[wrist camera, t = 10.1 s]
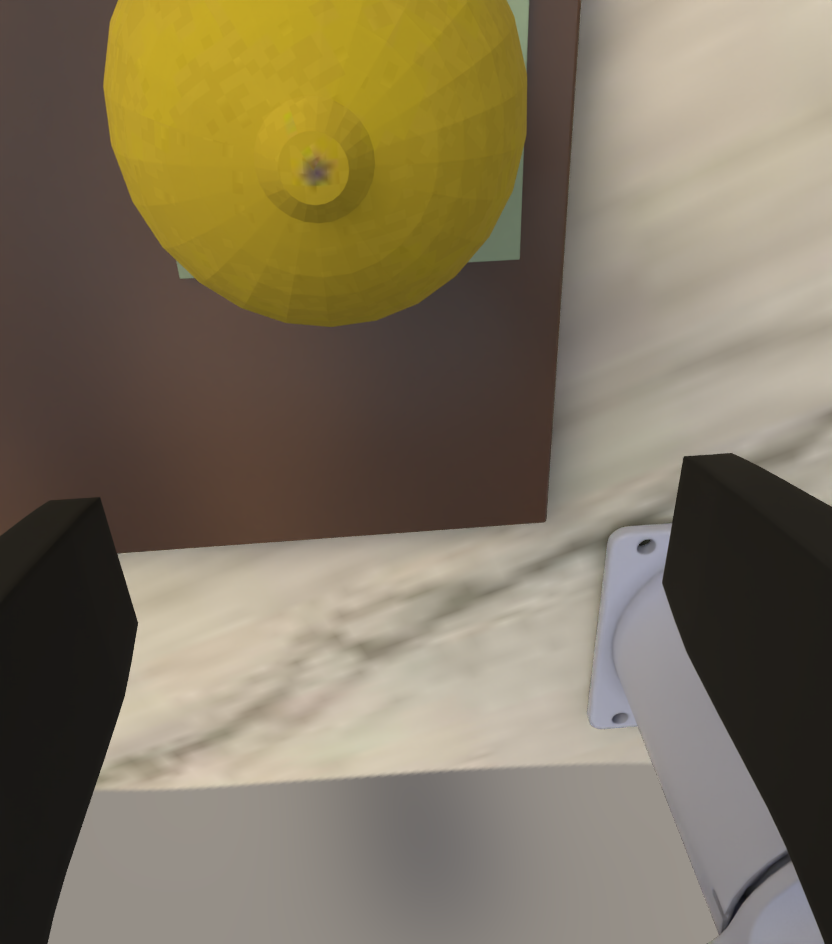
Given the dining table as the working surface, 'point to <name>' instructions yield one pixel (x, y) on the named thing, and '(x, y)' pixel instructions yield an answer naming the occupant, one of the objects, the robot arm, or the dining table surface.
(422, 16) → the lemon
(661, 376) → the dining table surface
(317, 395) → the board
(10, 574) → the robot arm
